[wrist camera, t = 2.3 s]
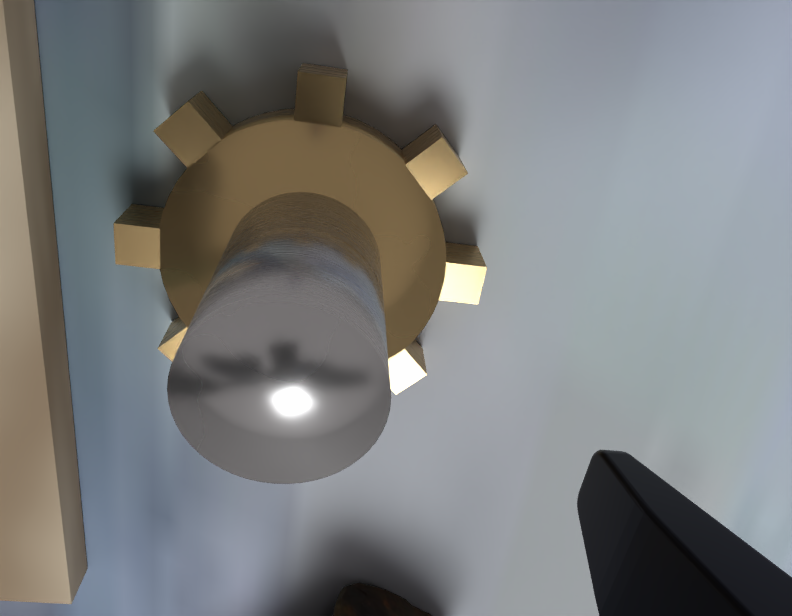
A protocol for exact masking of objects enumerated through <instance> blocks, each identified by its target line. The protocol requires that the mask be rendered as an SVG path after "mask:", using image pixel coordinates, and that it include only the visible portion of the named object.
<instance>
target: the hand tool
mask: <svg viewBox="0 0 792 616" xmlns="http://www.w3.org/2000/svg"><path fill="white" fill-rule="evenodd" d="M333 616H431V615H430V614H429V613H427V612H424V611H422V610H420V609H418V608H416V607H414V606H412V605H411V604H410V603H409V602H408V601H407V600H406V599H403V598H401V597H400V596H398V595H396V594H394V593H391V592H389V591H387V590H384V589H381V588H378V587H374V586H370V585H366V584H363V583H354V584H351V585H348V586H345V587H344V588H343V589H342V591H341V592H340V594H339V596H338V599H337V601H336V604H335V607H334V611H333Z"/></svg>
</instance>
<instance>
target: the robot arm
mask: <svg viewBox="0 0 792 616" xmlns="http://www.w3.org/2000/svg"><path fill="white" fill-rule="evenodd" d="M577 508H578V515H579V520H580V525H581V530H582V535H583V539H584V544H585V549H586V554H587V559H588V564H589V569H590V574H591V579H592V584H593V589H594V594H595V599H596V603H597V607H598V611H599V616H792V577H791V576H789V575H788V574H787V573H785V572H784V571H783V570H781V569H780V568H779V567H777V566H776V565H775V564H774V563H772V562H771V561H770V560H768V559H767V558H766V557H764V556H763V555H762V554H760V553H759V552H758V551H756V550H755V549H754V548H752V547H751V546H750V545H748V544H747V543H746V542H744V541H743V540H742V539H741V538H739V537H738V536H737V535H735V534H734V533H733V532H731V531H730V530H729V529H727V528H726V527H725V526H723V525H722V524H721V523H719V522H718V521H717V520H715V519H714V518H713V517H711V516H710V515H709V514H708V513H706V512H705V511H704V510H702V509H701V508H700V507H698V506H697V505H696V504H694V503H693V502H692V501H690V500H689V499H688V498H686V497H685V496H684V495H682V494H681V493H680V492H679V491H677V490H676V489H675V488H673V487H672V486H671V485H669V484H668V483H667V482H665V481H664V480H663V479H661V478H660V477H659V476H657V475H656V474H655V473H653V472H652V471H651V470H649V469H648V468H647V467H646V466H644V465H643V464H642V463H640V462H639V461H638V460H636V459H635V458H634V457H632V456H631V455H630V454H628V453H626V452H622V451H611V450H599V451H597V452H595V453H594V455H593V456H592V458H591V461H590V464H589V466H588V469H587V472H586V475H585V477H584V480H583V483H582V486H581V488H580V491H579V494H578V501H577Z"/></svg>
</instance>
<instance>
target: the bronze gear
mask: <svg viewBox="0 0 792 616" xmlns="http://www.w3.org/2000/svg"><path fill="white" fill-rule="evenodd" d="M347 71H348V70H346V69H339V68H333V67H326V66H319V65H313V64H306V63H302V65H301V67H300V68H299V70H298V74H297V87H296V100H295V109H282V110H277V111H272V112H266V113H263V114H260V115H257V116H254V117H251V118H248V119H246V120H244V121H242V122H240V123H238V124H236V125H234V126H232V125H231V124H230V123H229V122H228V121H227V119H226V118H225V117H224V116H223V115H222V114H221V112H220V111H219V110H218V109H217V108H216V107H215V105H214V104H213V103H212V102H211V101H210V100H209V98H208V97H207V96H206V95H205V94H204V93H203V91H201V92H199V93H198V94H197V95H195V96H194V97H193V98H192V99H190V100H189V101H188V102H187V103H185V104H184V105H183V106H182V107H181V108H180V109H178V110H177V111H176V112H175V113H174V114H173V115H171V116H170V117H169V118H168V119H167V120H166V121H164V122H163V123H162V124H161V125H160V126H159V127H157V128H156V129H155V130H154V132H155V133H156V135H157V136H158V137H159V138H160V139H161V140H162V141H163V142H164V143H165V144H166V145H167V146H168V148H169V149H170V150H171V151H172V152H173V153H174V154H175V155H176V156H177V157H178V158H179V160H180V161H181V162H182V163H183V164H184V165H185V166H186V167H187V169H186V170H185V172H184V173H183V174H182V175H181V177H180V178H179V179H178V181H177V182H176V184H175V186H174V188H173V190H172V191H171V193H170V195H169V197H168V200H167V202H166V205H165V208H160V207H152V206H144V205H136V204H132V205H131V206H130V207H129V208H128V209H127V210H126V211H125V212H124V213H123V214H122V215H121V216H120V217H119V218H118V219H117V220H116V221H115V222H114V241H115V261H116V264H119V265H128V266H137V267H146V268H155V269H160V272H161V276H162V280H163V284H164V287H165V289H166V292H167V294H168V297H169V299H170V301H171V303H172V305H173V307H174V309H175V310H176V312H177V314H178V316H179V317H178V318H177V319H175V320H174V321H173V322H171V324H170V326H169V328H168V330H167V332H166V334H165V336H164V337H163V339H162V341H161V343H160V345H159V347H158V349H159V350H160V351H161V352H162V353H163V354H164V355H165V356H166V357H167V358H169V359H170V360H171V361H172V364H171V367H170V371H169V376H168V386H167V392H168V402H169V406H170V410H171V414H172V416H173V418H174V421H175V423H176V425H177V427H178V428H179V430H180V432H181V433H182V435H183V436H184V438H185V439H186V440H187V441H188V443H189V444H190V445H191V446H192V447H193V448H194V449H195V450H196V451H197V452H198V453H199V454H200V455H202V456H203V457H204V458H206V459H207V460H208V461H210V462H211V463H213V464H215V465H216V466H218V467H220V468H221V469H223V470H225V471H228V472H230V473H232V474H234V475H237V476H240V477H243V478H246V479H250V480H255V481H259V482H266V483H274V484H292V483H303V482H309V481H314V480H318V479H321V478H325V477H328V476H330V475H333V474H335V473H337V472H340V471H341V470H343V469H345V468H347V467H349V466H350V465H352V464H353V463H355V462H356V461H357V460H359V459H360V458H361V457H362V456H363V455H364V454H366V453H367V452H368V451H369V450H370V448H371V447H372V446H373V445H374V444H375V442H376V441H377V439H378V438H379V436H380V435H381V433H382V431H383V429H384V427H385V424H386V422H387V419H388V415H389V411H390V404H391V390H392V391H393V392H394V393H395V394H398V393H399V392H401V391H403V390H404V389H406V388H407V387H409V386H410V385H412V384H413V383H415V382H417V381H418V380H420V379H421V378H423V377H424V376H426V375H427V372H426V366H425V360H424V354H423V349H422V347H421V346H420V345H419V344H418V342H417V341H416V340H415V338H416V337H417V336H418V335H419V333H420V332H421V331H422V330H423V328H424V327H425V326H426V324H427V322H428V321H429V319H430V317H431V316H432V314H433V312H434V310H435V307H436V305H437V303H438V300H443V301H452V302H461V303H470V304H478V303H479V299H480V294H481V290H482V286H483V281H484V277H485V273H486V269H487V267H486V264H485V262H484V260H483V257H482V255H481V253H480V251H479V248H478V246H472V245H464V244H456V243H448V242H445V238H444V231H443V228H442V224H441V221H440V218H439V215H438V211H437V208H436V205H435V202H434V199H433V198H435V197H436V196H437V195H439V194H440V193H442V192H443V191H444V190H446V189H447V188H449V187H450V186H451V185H453V184H454V183H455V182H457V181H458V180H460V179H461V178H462V177H464V176H465V175H467V174H468V172H467V171H466V169H465V167H464V165H463V163H462V161H461V160H460V158H459V156H458V155H457V153H456V152H455V151H454V149H453V148H452V146H451V145H450V143H449V142H448V141H447V139H446V138H445V136H444V135H443V133H442V132H441V131H440V129H439V128H438V126H437V125H436V124H435V125H434V126H433V127H431V128H430V129H429V130H427V131H426V132H425V133H423V134H422V135H421V136H419V137H418V138H417V139H415V140H414V141H413V142H411V143H410V144H409V145H407V146H406V147H405V148H403V149H401V148H400V147H398V146H397V145H396V144H395V143H394V142H393V141H392V140H391V139H389V138H388V137H386V136H385V135H384V134H382V133H381V132H379V131H378V130H376V129H375V128H373V127H371V126H369V125H367V124H365V123H363V122H361V121H359V120H357V119H354V118H351V117H348V116H345V115H343V108H344V99H345V90H346V81H347Z"/></svg>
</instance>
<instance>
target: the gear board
mask: <svg viewBox="0 0 792 616" xmlns="http://www.w3.org/2000/svg"><path fill="white" fill-rule="evenodd" d="M86 571H87V559H86V548H85V538H84V527H83V516H82V506H81V495H80V485H79V474H78V463H77V453H76V442H75V432H74V421H73V410H72V400H71V389H70V379H69V368H68V357H67V347H66V336H65V325H64V315H63V304H62V294H61V283H60V272H59V262H58V251H57V241H56V230H55V219H54V209H53V198H52V188H51V177H50V166H49V156H48V145H47V134H46V124H45V113H44V103H43V92H42V81H41V71H40V60H39V50H38V39H37V28H36V18H35V7H34V0H0V600H2V601H21V602H41V603H60V604H72V602H73V600H74V597H75V595H76V593H77V591H78V589H79V586H80V584H81V582H82V580H83V577H84V575H85V573H86Z"/></svg>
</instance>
